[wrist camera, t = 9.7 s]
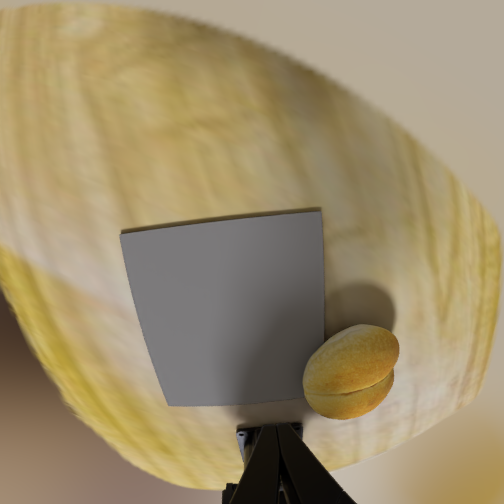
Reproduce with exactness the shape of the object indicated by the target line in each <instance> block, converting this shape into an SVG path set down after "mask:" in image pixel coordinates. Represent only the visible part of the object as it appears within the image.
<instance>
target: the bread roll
mask: <svg viewBox="0 0 504 504" xmlns="http://www.w3.org/2000/svg"><path fill="white" fill-rule="evenodd" d="M398 356H399V343H398V340H397V338H396V337H395V336H394V335H393V334H392V333H391V332H390V331H388V330H386V329H384V328H381V327H378V326H373V325H366V324H359V325H355V326H351V327H349V328H347V329H345V330H343V331H341V332H339V333H337V334H335V335H334V336H332V337H331V338H329V339H328V340H327V341H326V342H325V343H324V344H323V345H322V346H321V347H320V348H319V349H318V350H317V351H316V352H315V353H314V354H313V355H312V356H311V358H310V359H309V361H308V363H307V365H306V368H305V371H304V375H303V388H304V395H305V398H306V400H307V402H308V403H309V405H310V406H311V408H312V409H313V410H314V411H315V412H317V413H318V414H320V415H322V416H324V417H327V418H331V419H339V420H346V419H351V418H356V417H359V416H362V415H364V414H366V413H368V412H370V411H372V410H373V409H374V408H376V407H377V406H378V405H379V404H380V403H381V402H382V401H383V400H384V398H385V397H386V396H387V394H388V393H389V391H390V389H391V387H392V385H393V382H394V370H393V367H394V365H395V364H396V362H397V360H398Z"/></svg>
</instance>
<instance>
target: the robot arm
mask: <svg viewBox="0 0 504 504" xmlns="http://www.w3.org/2000/svg"><path fill="white" fill-rule="evenodd" d="M236 436H237V440H238V444H239V448H240V452H241V455H242V459H243V462H244V472H243V475H242V477H241V479H240V481H239V484H233V483H227V484H226V489H225V490H223V491H222V504H357V503H356V502H355V501H354V500H353V499H352V498H351V497H350V496H349V495H348V494H347V493H346V492H345V491H343V489H342V487H341V486H340V485H339V484H338V483H337V482H336V481H335V479H334V478H333V477H332V476H331V475H330V474H329V472H328V471H327V470H326V469H325V468H324V466H323V465H322V464H321V463H320V462H319V460H318V459H317V458H316V457H315V456H314V454H313V453H312V452H311V451H310V449H309V448H308V447H307V446H306V444H305V443H304V442H303V441H302V437H303V427H302V424H301V423H293V424H289V423H280V424H277V425H274V424H270V425H264V426H263V427H259V428H247V429H238V430H237V431H236Z"/></svg>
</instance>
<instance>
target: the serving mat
mask: <svg viewBox="0 0 504 504" xmlns="http://www.w3.org/2000/svg"><path fill="white" fill-rule="evenodd" d="M119 236H120V242H121V247H122V252H123V257H124V262H125V267H126V271H127V276H128V280H129V284H130V288H131V292H132V296H133V300H134V304H135V308H136V312H137V315H138V319H139V322H140V326H141V329H142V332H143V336H144V339H145V342H146V345H147V348H148V352H149V355H150V358H151V360H152V363H153V366H154V369H155V372H156V375H157V378H158V380H159V383H160V386H161V388H162V391H163V393H164V396H165V399H166V401H167V403H168V406H224V405H241V404H253V403H263V402H273V401H281V400H288V399H295V398H302V397H305V395H304V388H303V375H304V371H305V368H306V365H307V363H308V361H309V359H310V358H311V356H312V355H313V354H314V353H315V352H316V351H317V350H318V349H319V348H320V347H321V346H322V345H323V344H324V254H323V231H322V213H321V211H314V212H302V213H291V214H280V215H270V216H260V217H251V218H241V219H232V220H223V221H215V222H206V223H198V224H190V225H182V226H174V227H167V228H159V229H152V230H145V231H138V232H131V233H124V234H120V235H119Z"/></svg>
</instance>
